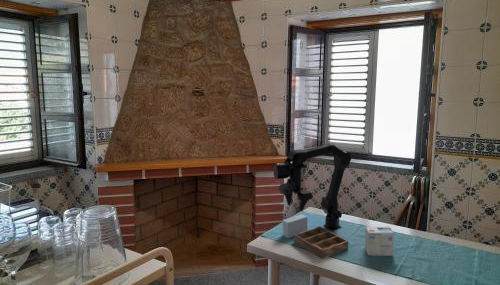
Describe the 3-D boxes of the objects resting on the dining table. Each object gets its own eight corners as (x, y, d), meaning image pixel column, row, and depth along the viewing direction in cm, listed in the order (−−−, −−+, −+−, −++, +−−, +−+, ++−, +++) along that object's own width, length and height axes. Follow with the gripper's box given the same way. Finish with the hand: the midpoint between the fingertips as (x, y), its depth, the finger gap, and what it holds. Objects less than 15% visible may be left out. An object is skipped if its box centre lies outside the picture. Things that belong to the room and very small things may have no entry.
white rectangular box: (302, 229, 180) (302, 214, 178) (307, 231, 177) (307, 216, 175) (283, 235, 174) (282, 220, 172) (288, 238, 171) (287, 222, 169)
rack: (319, 233, 175) (319, 225, 174) (348, 248, 159) (348, 239, 158) (294, 242, 167) (294, 233, 166) (321, 259, 151) (321, 249, 150)
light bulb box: (389, 248, 158) (390, 225, 156) (393, 256, 151) (394, 232, 149) (364, 248, 159) (364, 225, 157) (367, 255, 152) (368, 232, 150)
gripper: (270, 175, 173) (270, 205, 176) (294, 184, 158) (293, 218, 161) (288, 171, 179) (288, 201, 182) (313, 180, 163) (312, 213, 166)
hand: (294, 208), depth 173 cm, fingers open, 9 cm apart
